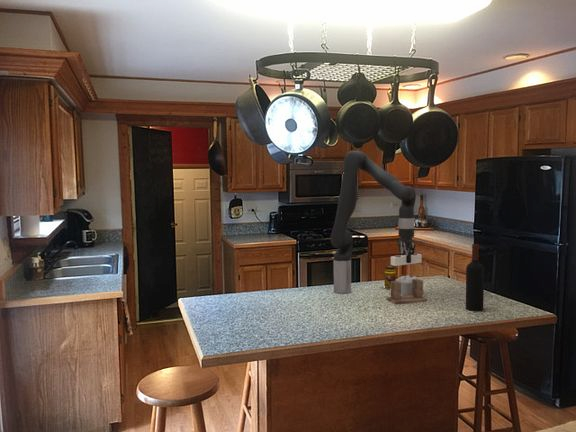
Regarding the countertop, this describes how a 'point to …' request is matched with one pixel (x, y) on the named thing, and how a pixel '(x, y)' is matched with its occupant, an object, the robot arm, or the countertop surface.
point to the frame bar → (401, 259)
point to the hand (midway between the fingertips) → (406, 261)
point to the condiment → (389, 276)
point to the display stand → (402, 299)
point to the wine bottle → (474, 282)
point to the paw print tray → (406, 284)
